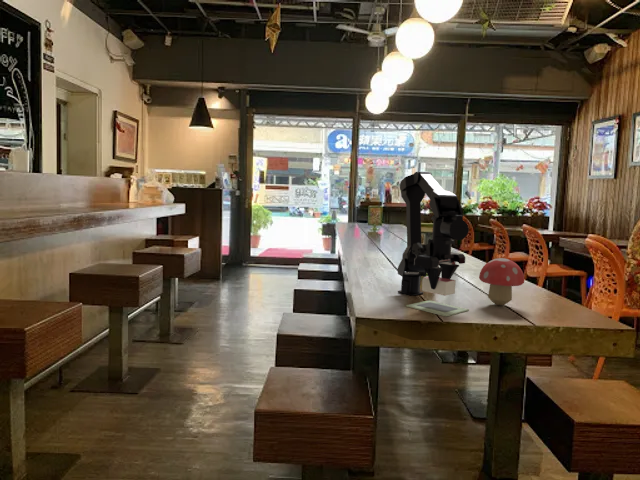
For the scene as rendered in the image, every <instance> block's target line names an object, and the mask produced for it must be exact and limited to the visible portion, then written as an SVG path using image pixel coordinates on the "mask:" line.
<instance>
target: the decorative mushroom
mask: <svg viewBox="0 0 640 480" xmlns="http://www.w3.org/2000/svg"><path fill="white" fill-rule="evenodd" d="M478 278H479V280H480V281H481V282H482V283H484V284H488V285H489V288H488V294H487V298H488V299H489V300H490V301H491V302H492V303H493V304H494V305H496V306H504V305H507V304H508V303H510V302H511V301H512V299H513V293H512V292H513V290H512V289H513V288H512V287H520V286H522V285H523V284H524V283H525V275H524V272H523V269H521V267H520V266H519V265H518V264H517V263H516V262H515V261H513V260H511V259H510V258H509V259H508V258H503V257H499V258H494V259H492V260H490V261H488V262H487V263H485V264H484V265H483V266H482V268H481V269H480V272H479V277H478Z"/></svg>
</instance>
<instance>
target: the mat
mask: <svg viewBox="0 0 640 480" xmlns="http://www.w3.org/2000/svg"><path fill="white" fill-rule="evenodd" d="M406 307H407V308H410V309H411V308H412V309H415V310H419V311H422V312H427V313H432V314H435V315H439V316H443V317H449V316H454V315H458V314H461V313H465V312H468V311H469V310H470V309H469V308H465V307H461V306H456V305H451V304H447V303H443V302H438V301H434V300H423V301H420V302H415V303H411V304H410V303H409V304H406Z"/></svg>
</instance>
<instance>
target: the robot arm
mask: <svg viewBox="0 0 640 480" xmlns="http://www.w3.org/2000/svg"><path fill="white" fill-rule="evenodd" d="M399 191H400V196H401V199H403V202H404V203H405V205H406V206H405V207H406V209H405V210H406V211H405V213H406V248H405V249H404V251H403V252H402V258H401V260H400V263H399V264H398V266H397V275H399V276H401V287H400V290H397V293H400V294H403V295H409V296H412V297H413V296H417V295H422V294H424V292H425V291H422V290H421V282H422V281H421V280H422V279H421V277H423V278H424V277H428V278H429V282H430V285H431V289H435V288H436V286H437V283H438V280H439V277H440V276H441V278H446V279H452V277H453V275H455V274H454V273H455V272H456V271H457V269H458V268H459V267H460V265H461V264H466V256H465V254H464V253H460V252H459V253H458V252H452V245H455V241H462V240H464V239H466V238H467V236H468V234H469V226H468V223H467V222H466V221H465V220H464V212H463V209H462V207H461V203H460V200H459V198H458V196H457V194H455V193H454V192H452V191H449V190H446V189H444V188H443V187H442V186H441V184H440V183H439V182H438V181H437V180H436V179H435V178H434V177H433V173H432V172H430V171H426V170H425V171H423V170H422V171H421V170H418V171H415V172H414V173H413V174H410V175H406V176H405V177H403V179H401V181H400V183H399ZM425 196H427V197H428V199H429V204H428V205H429V208H430V209H431V212H432V214H433V215H432V216H431V218H430V219H431V220H432V223H433V224H432V233H431V235H432V236H431V238H429V239H428V240H427V243H425V244H422V212H421V211H422V208H421V203H422V201H423V200H424V198H425ZM457 263H458V264H457Z"/></svg>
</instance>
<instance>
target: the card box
mask: <svg viewBox="0 0 640 480" xmlns="http://www.w3.org/2000/svg"><path fill="white" fill-rule="evenodd" d="M421 284H422V287H421V292H425V293H429V294H430V293H431V294H436V295H440V296H446V297H447V296H450V295H454V294H455V293H456V280H455V279H452V278H451V279H446V278H441V277H439V280H438V283H437V286H436V288H435V289H431V285H430V282H429V278H428V276H426V277H424V276H423V277H422V283H421Z"/></svg>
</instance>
